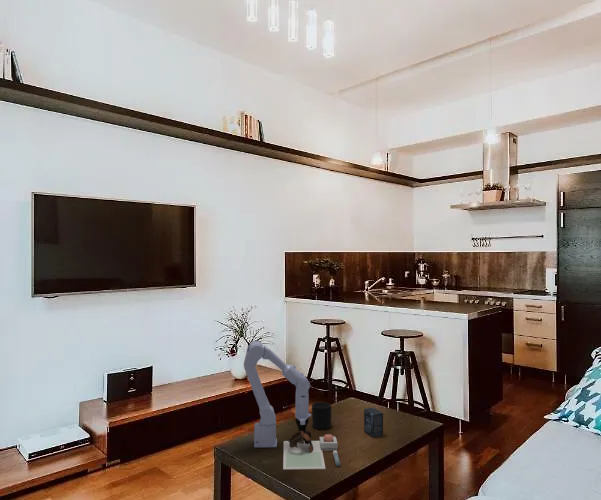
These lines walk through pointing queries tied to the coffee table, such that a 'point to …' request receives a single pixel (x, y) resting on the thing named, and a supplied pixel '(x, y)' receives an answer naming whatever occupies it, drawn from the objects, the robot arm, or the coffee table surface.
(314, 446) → the paper
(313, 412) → the pen holder
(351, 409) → the coffee table surface
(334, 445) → the white square holder
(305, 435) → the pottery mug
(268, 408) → the robot arm
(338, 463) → the marker
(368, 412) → the box
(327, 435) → the button
